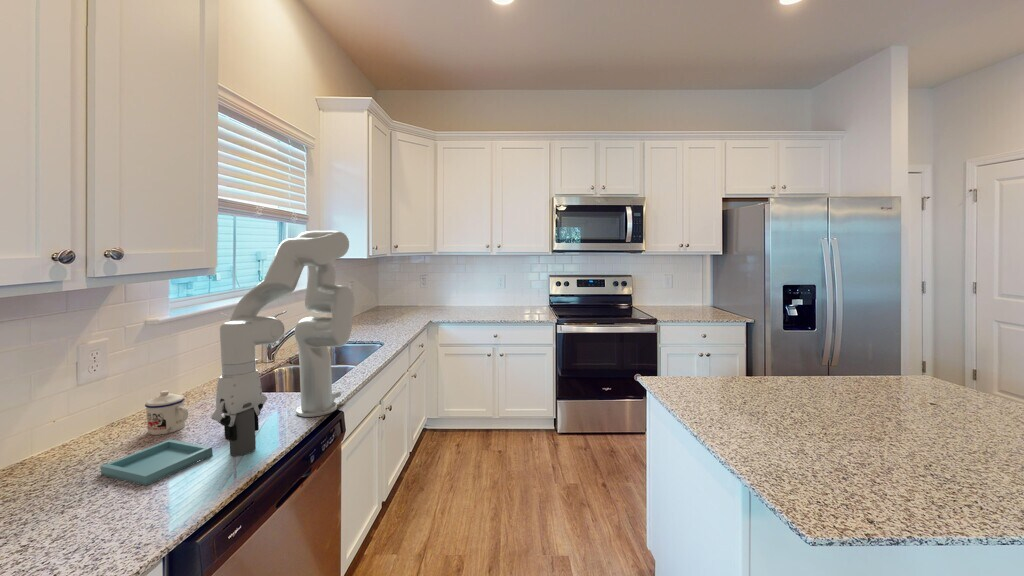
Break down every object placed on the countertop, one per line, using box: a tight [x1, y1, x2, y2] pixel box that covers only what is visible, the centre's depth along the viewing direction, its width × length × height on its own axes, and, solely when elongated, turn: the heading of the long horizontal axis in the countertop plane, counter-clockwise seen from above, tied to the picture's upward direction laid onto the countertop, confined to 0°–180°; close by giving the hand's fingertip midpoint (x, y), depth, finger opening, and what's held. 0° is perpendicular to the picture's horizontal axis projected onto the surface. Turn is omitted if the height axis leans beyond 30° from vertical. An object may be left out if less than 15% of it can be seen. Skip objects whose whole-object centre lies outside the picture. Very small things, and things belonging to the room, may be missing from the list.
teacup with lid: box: [144, 390, 189, 436], centre depth 126 cm, size 12×9×12 cm
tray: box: [100, 438, 213, 486], centre depth 105 cm, size 15×15×2 cm
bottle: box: [228, 402, 257, 457], centre depth 112 cm, size 6×6×15 cm
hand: (242, 434), depth 112 cm, fingers closed on bottle, 5 cm apart
